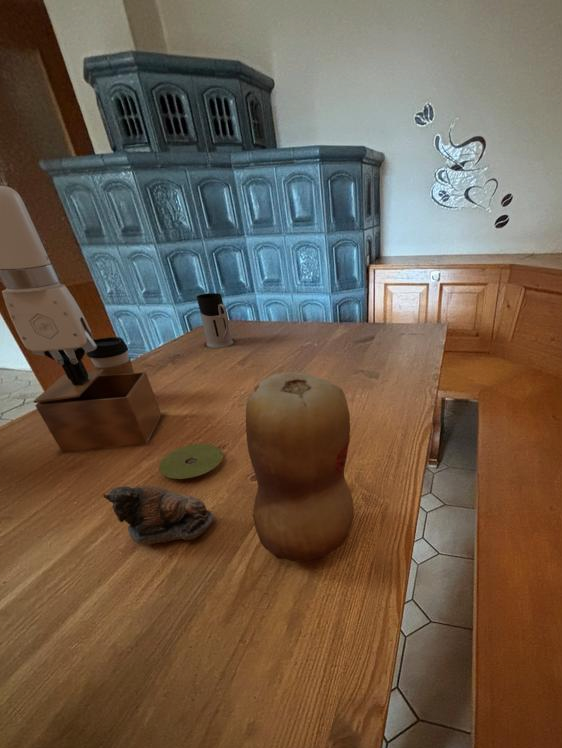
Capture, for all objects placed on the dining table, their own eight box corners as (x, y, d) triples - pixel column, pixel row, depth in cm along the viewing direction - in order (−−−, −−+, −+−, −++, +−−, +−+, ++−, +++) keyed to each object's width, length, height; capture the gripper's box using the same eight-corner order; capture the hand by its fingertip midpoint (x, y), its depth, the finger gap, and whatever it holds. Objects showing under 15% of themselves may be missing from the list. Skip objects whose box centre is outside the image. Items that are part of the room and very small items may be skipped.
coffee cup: (102, 403, 94) (74, 342, 85) (135, 391, 100) (111, 332, 91) (120, 412, 90) (93, 348, 81) (153, 399, 96) (131, 338, 87)
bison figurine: (215, 512, 62) (198, 461, 56) (216, 543, 57) (197, 490, 50) (134, 529, 59) (107, 477, 53) (127, 563, 54) (96, 510, 48)
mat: (227, 449, 77) (225, 440, 76) (221, 482, 68) (219, 474, 67) (169, 455, 76) (166, 446, 74) (155, 490, 67) (151, 481, 66)
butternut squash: (343, 587, 50) (333, 416, 35) (247, 573, 52) (197, 406, 37) (361, 515, 61) (360, 361, 46) (281, 506, 63) (254, 356, 48)
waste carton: (62, 453, 77) (34, 405, 70) (87, 422, 87) (65, 377, 80) (147, 445, 79) (127, 397, 72) (161, 415, 89) (145, 372, 82)
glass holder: (226, 338, 135) (215, 291, 125) (246, 347, 126) (236, 298, 117) (202, 343, 130) (189, 295, 121) (221, 354, 122) (209, 303, 112)
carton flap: (34, 403, 70) (33, 401, 70) (64, 376, 80) (63, 374, 80) (79, 396, 71) (78, 394, 70) (103, 370, 81) (102, 369, 81)
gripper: (-34, 285, 60) (30, 393, 71) (69, 280, 62) (115, 386, 73) (-6, 276, 66) (48, 378, 77) (86, 272, 68) (127, 371, 79)
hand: (81, 382), depth 75 cm, fingers closed
